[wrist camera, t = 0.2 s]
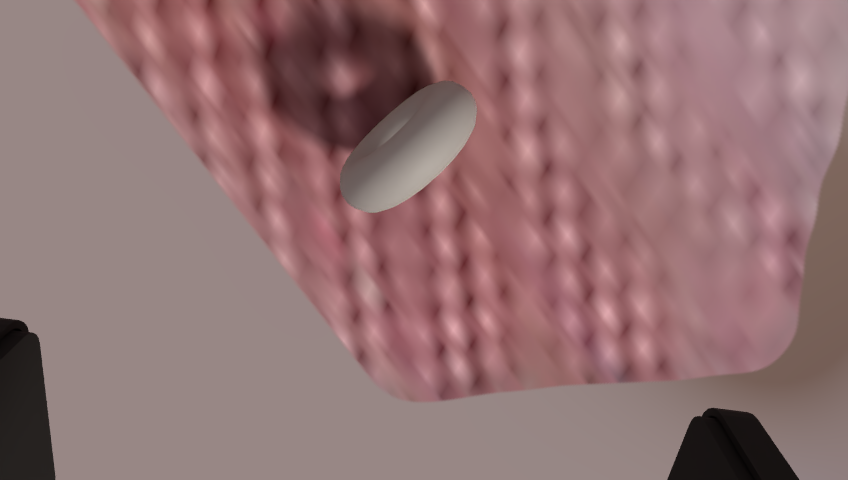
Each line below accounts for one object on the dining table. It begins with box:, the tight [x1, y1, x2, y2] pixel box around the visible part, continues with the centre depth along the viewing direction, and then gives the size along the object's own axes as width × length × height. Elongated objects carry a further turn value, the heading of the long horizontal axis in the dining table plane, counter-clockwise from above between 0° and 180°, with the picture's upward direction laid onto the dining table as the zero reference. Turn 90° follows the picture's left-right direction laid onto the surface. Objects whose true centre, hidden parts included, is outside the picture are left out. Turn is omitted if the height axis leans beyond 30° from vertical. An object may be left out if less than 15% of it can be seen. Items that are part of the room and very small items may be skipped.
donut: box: [340, 81, 477, 213], centre depth 40 cm, size 10×3×10 cm, turn 130°
